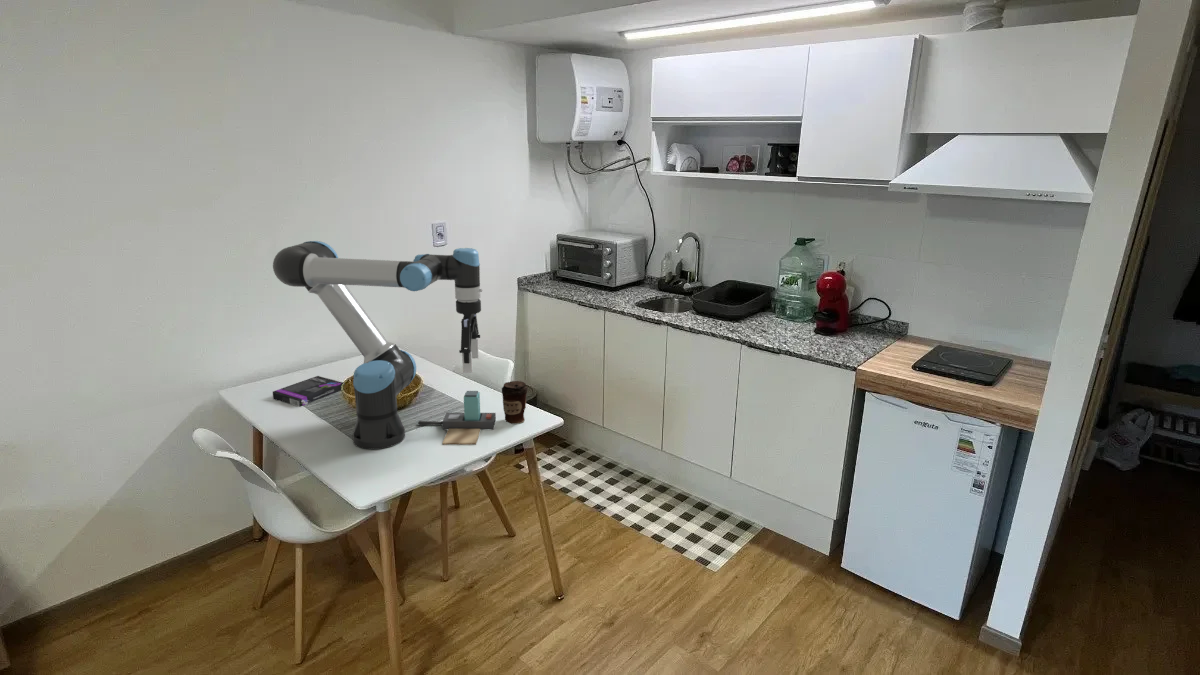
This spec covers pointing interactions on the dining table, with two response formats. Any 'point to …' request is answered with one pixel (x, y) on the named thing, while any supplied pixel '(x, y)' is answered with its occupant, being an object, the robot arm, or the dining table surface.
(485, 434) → the dining table surface
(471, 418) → the block
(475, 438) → the pad
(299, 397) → the box
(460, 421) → the strip
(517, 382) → the coffee cup
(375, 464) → the dining table surface
